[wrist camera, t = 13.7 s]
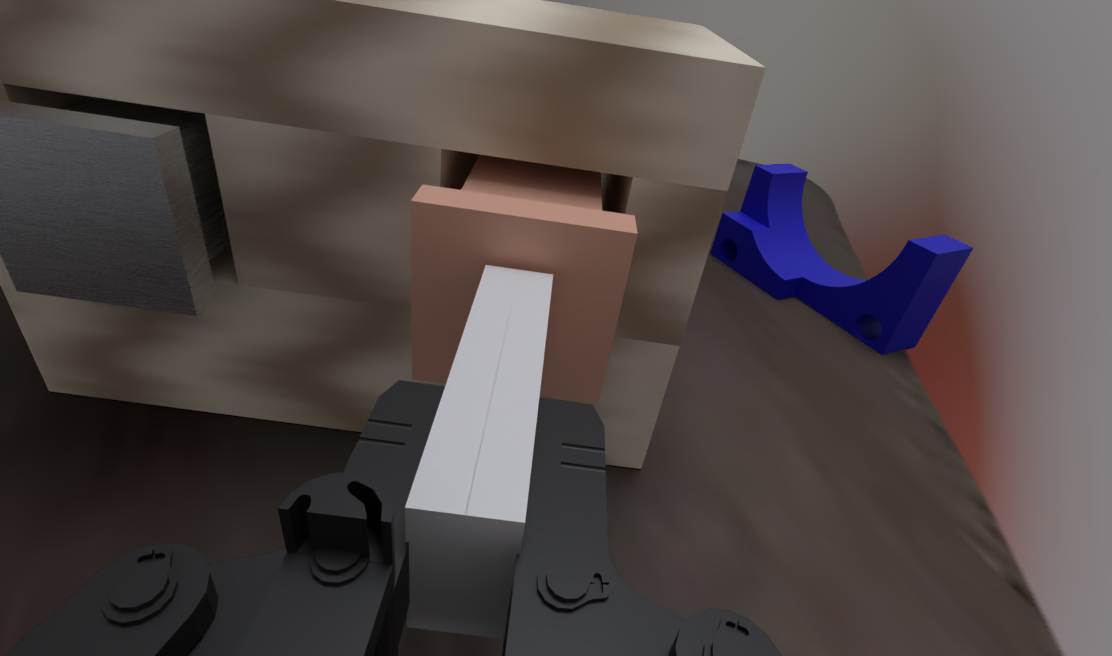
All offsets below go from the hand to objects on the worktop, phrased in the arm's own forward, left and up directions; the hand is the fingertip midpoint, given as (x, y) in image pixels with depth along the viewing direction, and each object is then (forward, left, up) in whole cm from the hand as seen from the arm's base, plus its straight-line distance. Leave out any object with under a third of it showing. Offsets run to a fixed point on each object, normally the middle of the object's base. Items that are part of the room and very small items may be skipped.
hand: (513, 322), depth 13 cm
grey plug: (-11, +8, -2) cm, 14 cm away
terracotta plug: (0, +7, -2) cm, 7 cm away
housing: (-6, +8, -8) cm, 13 cm away
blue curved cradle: (+16, +19, -8) cm, 27 cm away
